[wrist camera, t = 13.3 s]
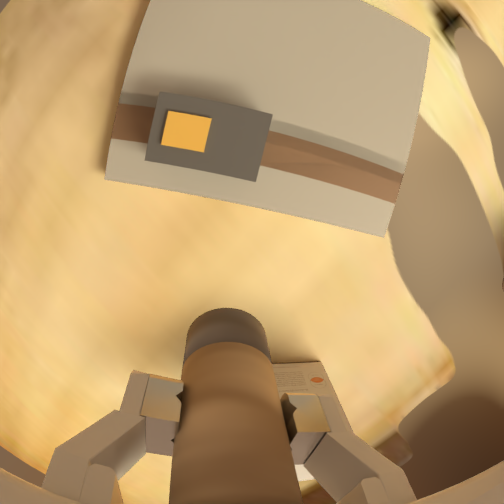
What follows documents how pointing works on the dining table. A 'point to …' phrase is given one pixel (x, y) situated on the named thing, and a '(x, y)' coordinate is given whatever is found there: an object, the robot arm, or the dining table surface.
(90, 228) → the dining table surface
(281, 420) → the peg
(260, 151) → the grey rectangular block
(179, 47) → the floor panel
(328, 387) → the small box
